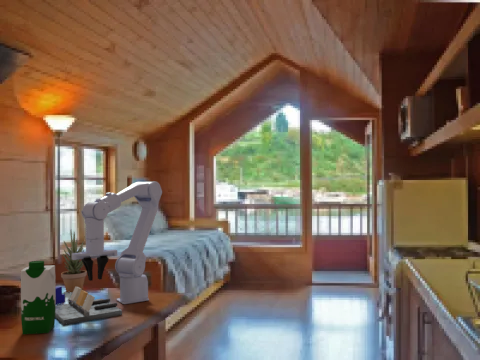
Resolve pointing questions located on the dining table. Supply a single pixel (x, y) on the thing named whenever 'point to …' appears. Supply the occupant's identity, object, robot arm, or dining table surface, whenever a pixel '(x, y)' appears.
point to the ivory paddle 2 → (88, 302)
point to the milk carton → (38, 298)
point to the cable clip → (59, 295)
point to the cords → (103, 305)
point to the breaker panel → (83, 312)
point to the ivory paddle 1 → (75, 294)
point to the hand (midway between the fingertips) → (95, 279)
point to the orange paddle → (81, 298)
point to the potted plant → (73, 268)
